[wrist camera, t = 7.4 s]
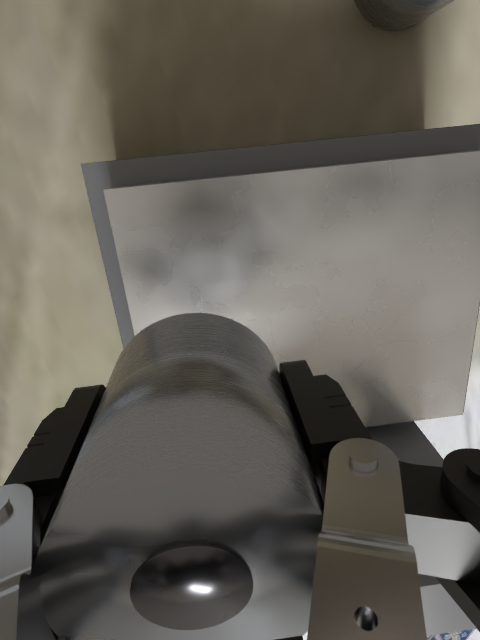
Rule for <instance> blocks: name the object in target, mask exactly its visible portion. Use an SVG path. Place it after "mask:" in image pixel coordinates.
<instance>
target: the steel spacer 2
mask: <svg viewBox="0 0 480 640" xmlns="http://www.w3.org/2000/svg"><path fill="white" fill-rule="evenodd" d="M452 1H454V0H355V3H356V5H357V7H358V9H359V11H360V12H361V14H362V15H363V16H364V18H365V19H366V20H367V21H368V22H370V23H371V24H372V25H374V26H376V27H378V28H380V29H383V30H388V31H397V30H402V29H406V28H408V27H410V26H412V25H414V24H416V23H417V22H419V21H421V20H422V19H424V18H426V17H427V16H429V15H431V14H432V13H434V12H436V11H437V10H439V9H440V8H442V7H444V6H445V5H447V4H449V3H450V2H452Z"/></svg>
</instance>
